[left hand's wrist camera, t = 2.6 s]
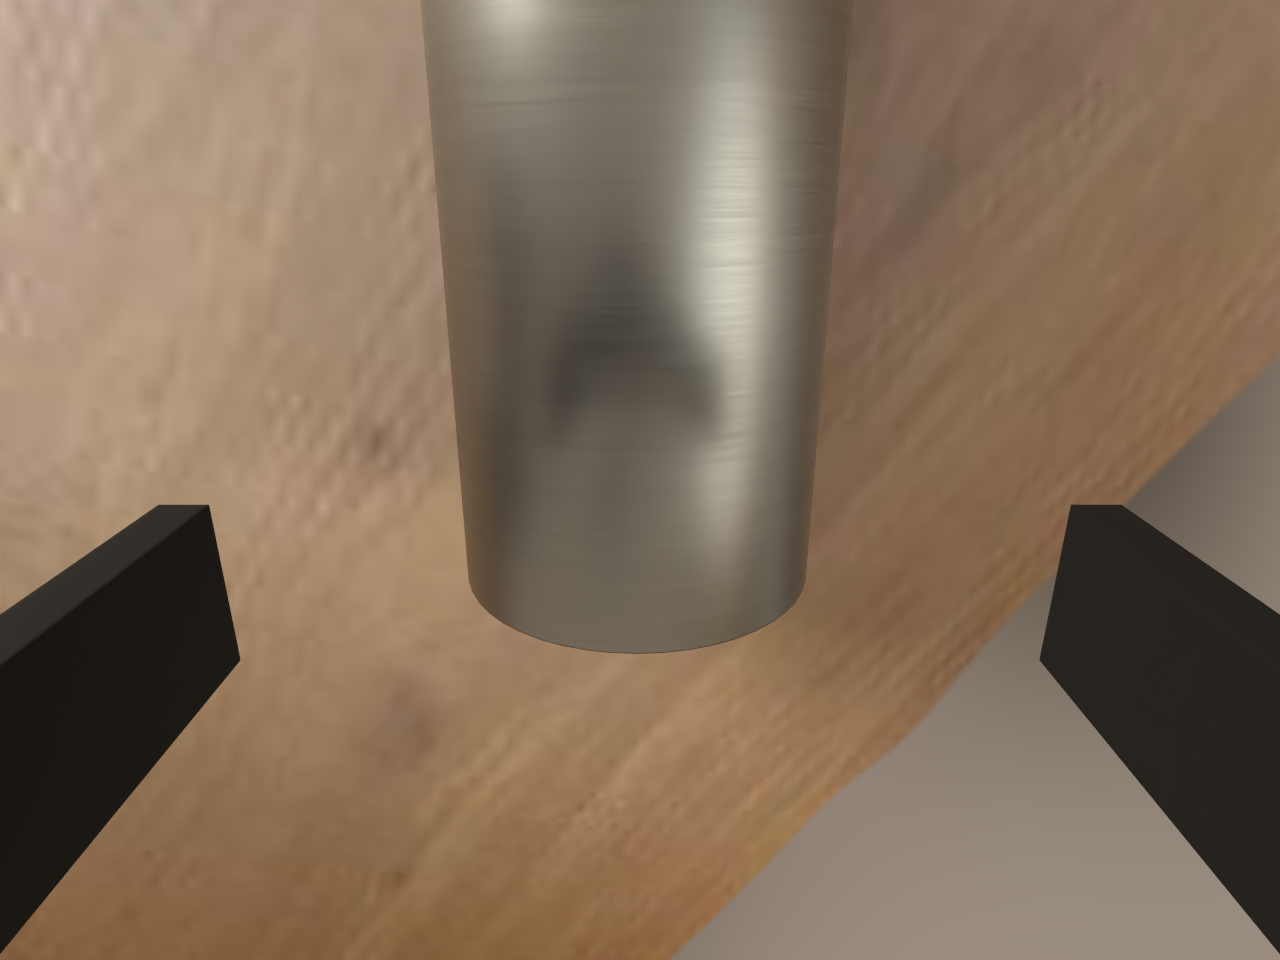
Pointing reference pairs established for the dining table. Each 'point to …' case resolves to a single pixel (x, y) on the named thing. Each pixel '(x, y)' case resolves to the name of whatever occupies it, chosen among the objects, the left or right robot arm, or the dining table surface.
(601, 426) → the rod
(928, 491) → the dining table surface
